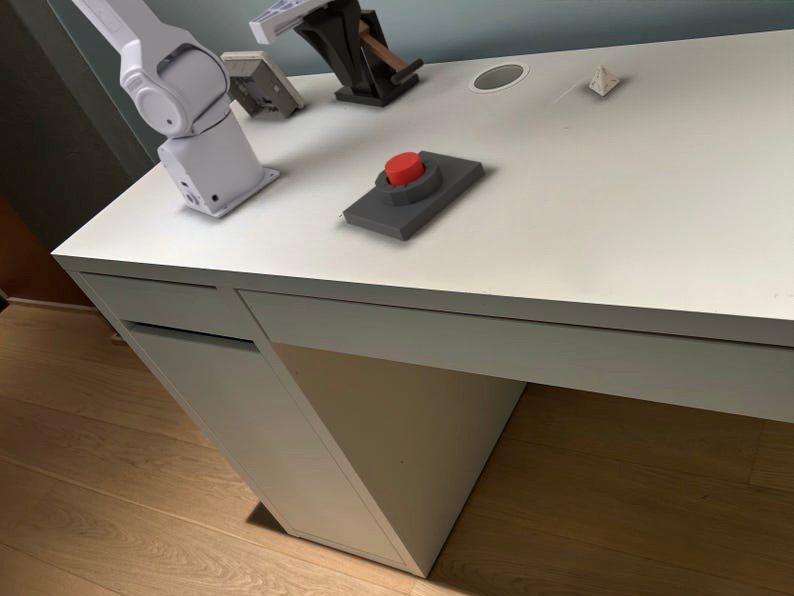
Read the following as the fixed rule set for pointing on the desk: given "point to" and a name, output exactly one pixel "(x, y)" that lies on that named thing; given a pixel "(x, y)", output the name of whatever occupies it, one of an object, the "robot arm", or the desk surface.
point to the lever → (387, 55)
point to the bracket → (375, 73)
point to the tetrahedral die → (603, 81)
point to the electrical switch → (260, 85)
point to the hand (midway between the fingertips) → (352, 83)
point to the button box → (413, 196)
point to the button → (404, 168)
